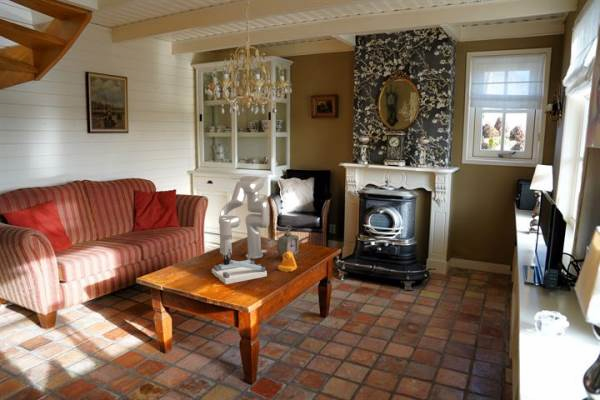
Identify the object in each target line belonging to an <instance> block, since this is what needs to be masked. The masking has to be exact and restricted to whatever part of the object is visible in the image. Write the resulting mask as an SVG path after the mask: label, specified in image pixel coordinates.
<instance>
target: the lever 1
mask: <svg viewBox="0 0 600 400" xmlns="http://www.w3.org/2000/svg"><path fill="white" fill-rule="evenodd" d="M251 261H252V260H251V259H250V260H247V259H246V260H239V261H238V262H243V263H248V264H251ZM217 266H218V267H220V269H221V270H222V269H228V268H234V267H240V266H235V265H232V264H229V265H225V264H224V263H219V264H217Z"/></svg>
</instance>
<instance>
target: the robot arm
mask: <svg viewBox="0 0 600 400" xmlns="http://www.w3.org/2000/svg"><path fill="white" fill-rule="evenodd" d="M239 180H240V181H237V182H236V185H235V187H234V190H233V193H232V196H231V199H230V201H229V202H227V203H226V204H225V205H224V206H223V207H222V209H221V211H220V214H219V217H218V224H219V253H220V254H221V255H222V256H223V264H225V265H229V264H230V263H229V262H230V259H231V256H232V254H233V246H232V238H233V237H232V235H233V234H232V229H234V228H238V227H239V226H240V225H241V218H240V217H239V216H236V215H229V213H230V212H231V211H233V210H234V209H236V208H240V207H241V206H243V205H244V204H245V203H244V202H245V199H246V201H247V203H246V204H247V206H246V207H247V211H248V212H250V214H247V215H246V216H245V226H246V232H247V233H246V235H247V239H246V241H247V253H246V254H245V257H246V259H247V258H250V260H251V259H253V260H254V259H261V258H263V256H264V253H265V254H266V253H268V250H267V249H262V246H261V243H262V242H261V238H262V237H261V231H260V229H266V228H268V227H269V226H270V220H271V219H270V204H269V201H268V200H266V199H260V192H259V191H260V190H262V189H263V187H264V186H265V181H264V178H263V176H262V177H261V176H251V175H249V176H247V175H246V176H245V175H244V176H242V177H240V179H239ZM259 213H260V214H259ZM259 228H260V229H259Z"/></svg>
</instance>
